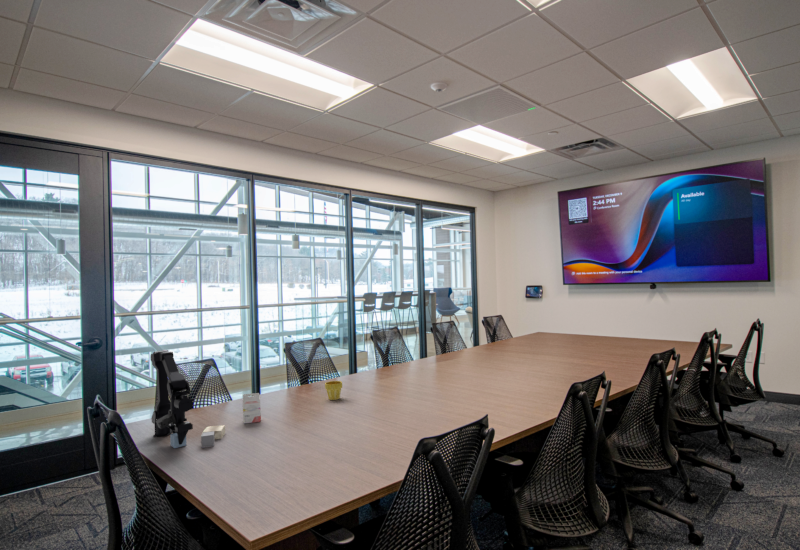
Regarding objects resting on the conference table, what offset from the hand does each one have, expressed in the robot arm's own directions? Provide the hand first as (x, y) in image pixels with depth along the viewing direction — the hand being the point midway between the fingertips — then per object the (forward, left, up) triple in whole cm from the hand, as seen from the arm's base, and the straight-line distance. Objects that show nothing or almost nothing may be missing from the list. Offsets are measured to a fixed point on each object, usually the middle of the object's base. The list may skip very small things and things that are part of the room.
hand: (178, 442), depth 196 cm
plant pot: (+63, +69, -1) cm, 93 cm away
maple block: (+12, +10, -2) cm, 16 cm away
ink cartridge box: (+24, +31, -2) cm, 39 cm away
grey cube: (+13, -1, -1) cm, 13 cm away
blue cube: (0, 0, -1) cm, 1 cm away
